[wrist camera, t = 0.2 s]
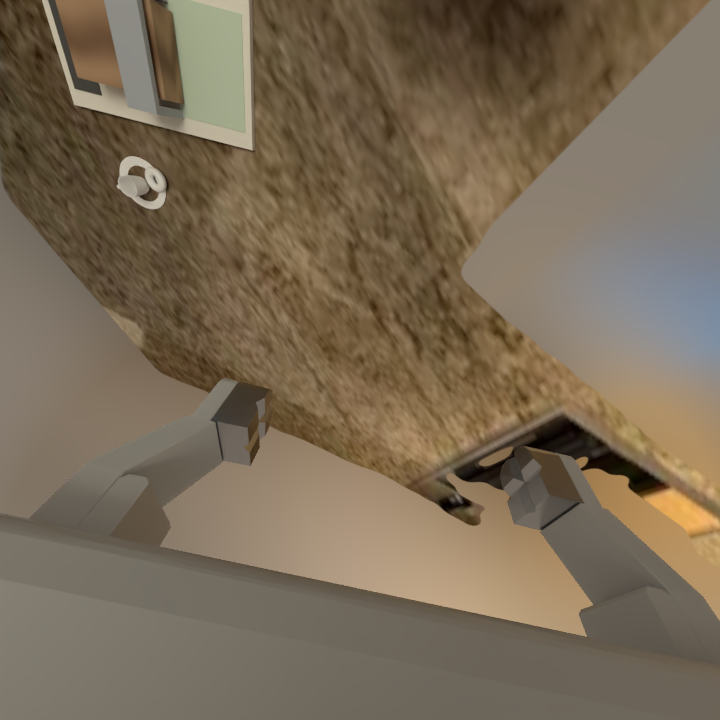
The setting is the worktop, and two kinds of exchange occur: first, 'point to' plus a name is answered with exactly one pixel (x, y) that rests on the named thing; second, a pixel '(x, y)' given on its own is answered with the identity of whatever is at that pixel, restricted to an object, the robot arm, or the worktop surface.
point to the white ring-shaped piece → (142, 182)
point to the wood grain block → (97, 53)
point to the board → (189, 72)
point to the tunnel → (135, 57)
